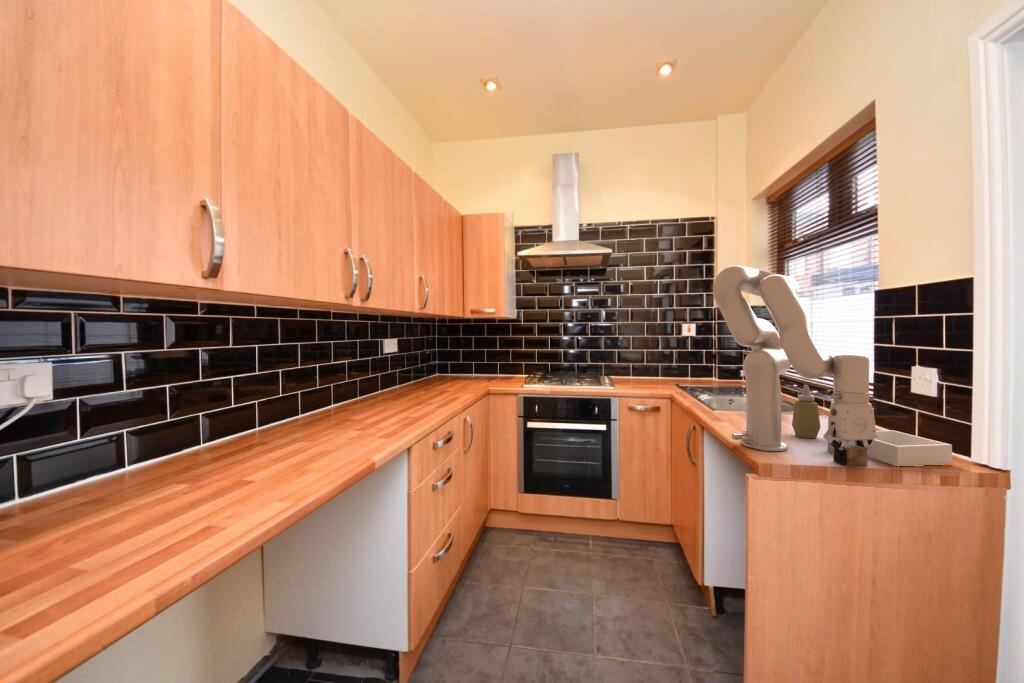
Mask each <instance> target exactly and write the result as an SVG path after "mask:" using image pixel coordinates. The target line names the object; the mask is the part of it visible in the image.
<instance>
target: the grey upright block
mask: <svg viewBox="0 0 1024 683" xmlns="http://www.w3.org/2000/svg"><path fill="white" fill-rule="evenodd" d="M833 438H834V437H833ZM840 441H841V440H839V443H840ZM846 443H849V441H847V442H846ZM828 452H829V454H832V455H834V448H833V447H832V445H831V444H830V443H829V442H828V441H827V453H828Z"/></svg>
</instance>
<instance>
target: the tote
mask: <svg viewBox="0 0 1024 683" xmlns="http://www.w3.org/2000/svg"><path fill="white" fill-rule="evenodd" d="M876 435H877V438H876V439H875V440H873V441H872V443H871V444H870V445H869V449H868V450H867V458H870V459H872V460H875V461H878V462H881V463H884V464H887V463H888V464H887V465H890V464H891V466H893V465H894V466H893V467H896V466H898V467H897V468H900V467H899V466H914V465H935V464H948V463H952V464H953V460H952V459H953V445H952V444H950V443H946V442H942V441H938V440H935V439H930V438H926V437H921V436H918V435H914V434H909V433H905V432H902V431H897V430H894V429H891V430H887V429H886V430H885V429H884V430H876ZM860 441H861V440H860ZM849 443H851V444H854V445H856V444H855V441H849Z"/></svg>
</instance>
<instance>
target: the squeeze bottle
mask: <svg viewBox="0 0 1024 683" xmlns="http://www.w3.org/2000/svg"><path fill="white" fill-rule="evenodd" d="M819 410H820V409H819V403H817V402H816V401H815V395H812V394H811V390H810V387H809V385H808V384H804V385H803V388H802V392H801V394H798V395H797V400H796V401H795V402H794V406H793V414H792V421H791V427H792V428H793V431H794V434H795V436H797V437H800V438H805V439H816V438H817V437H818V434H819V432H820V430H821V422H820V421H821V420H820V419H821V418H820V411H819Z"/></svg>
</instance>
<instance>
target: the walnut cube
mask: <svg viewBox="0 0 1024 683" xmlns="http://www.w3.org/2000/svg"><path fill="white" fill-rule="evenodd" d="M844 450H846V465H843V464H841V465H842V466H844V467H845V466H846V467H848V468H867V467H868V457H867V448H864V447H861V446H857V445H854V444H851V443H846V445H845V449H844ZM833 462H835V461H834V460H833ZM835 463H836V462H835Z"/></svg>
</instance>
